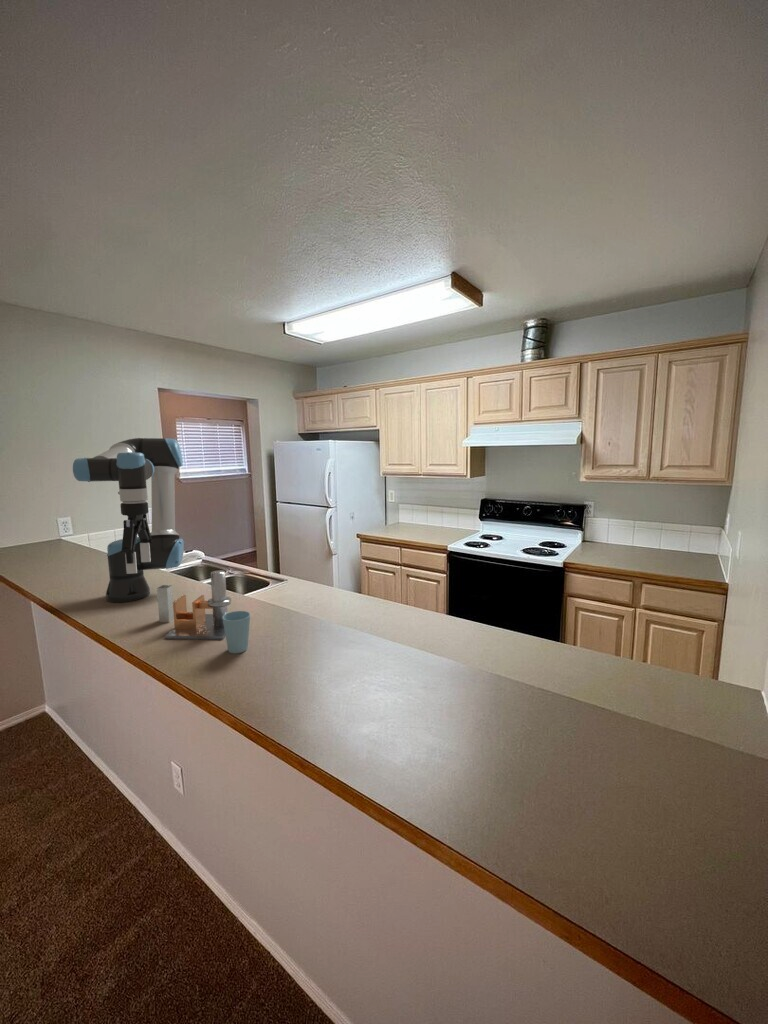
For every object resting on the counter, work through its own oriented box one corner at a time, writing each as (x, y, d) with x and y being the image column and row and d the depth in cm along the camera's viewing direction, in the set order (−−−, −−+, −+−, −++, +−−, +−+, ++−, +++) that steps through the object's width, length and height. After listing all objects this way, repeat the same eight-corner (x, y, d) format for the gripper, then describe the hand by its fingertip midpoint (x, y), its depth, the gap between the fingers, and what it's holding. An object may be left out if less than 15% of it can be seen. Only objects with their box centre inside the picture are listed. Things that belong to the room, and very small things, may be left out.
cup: (248, 641, 131) (247, 608, 129) (254, 651, 124) (252, 617, 123) (222, 647, 127) (220, 613, 126) (227, 657, 120) (225, 622, 119)
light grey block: (164, 618, 148) (162, 585, 147) (174, 618, 148) (172, 585, 147) (159, 622, 145) (157, 588, 143) (169, 622, 145) (167, 588, 143)
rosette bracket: (191, 616, 150) (188, 564, 147) (242, 617, 150) (240, 564, 147) (165, 638, 132) (161, 579, 130) (222, 639, 132) (219, 580, 129)
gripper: (134, 497, 145) (139, 558, 148) (104, 507, 121) (111, 579, 124) (158, 497, 147) (162, 557, 150) (133, 506, 123) (139, 577, 126)
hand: (139, 567), depth 137 cm, fingers open, 13 cm apart
